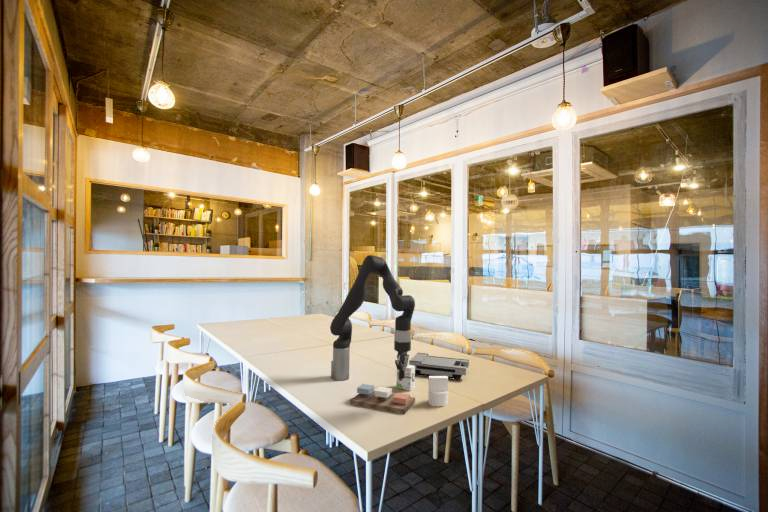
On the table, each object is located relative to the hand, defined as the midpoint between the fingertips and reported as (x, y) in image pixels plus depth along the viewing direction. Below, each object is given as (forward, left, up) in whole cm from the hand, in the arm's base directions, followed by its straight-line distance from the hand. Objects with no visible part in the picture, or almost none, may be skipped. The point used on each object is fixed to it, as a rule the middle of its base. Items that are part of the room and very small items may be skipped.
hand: (401, 378), depth 162 cm
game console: (+4, +57, -13) cm, 58 cm away
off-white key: (-9, 0, -9) cm, 13 cm away
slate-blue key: (-18, 0, -9) cm, 20 cm away
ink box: (-6, +23, -13) cm, 27 cm away
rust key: (0, 0, -10) cm, 10 cm away
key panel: (-9, 0, -13) cm, 15 cm away
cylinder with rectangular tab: (+14, +11, -13) cm, 22 cm away
